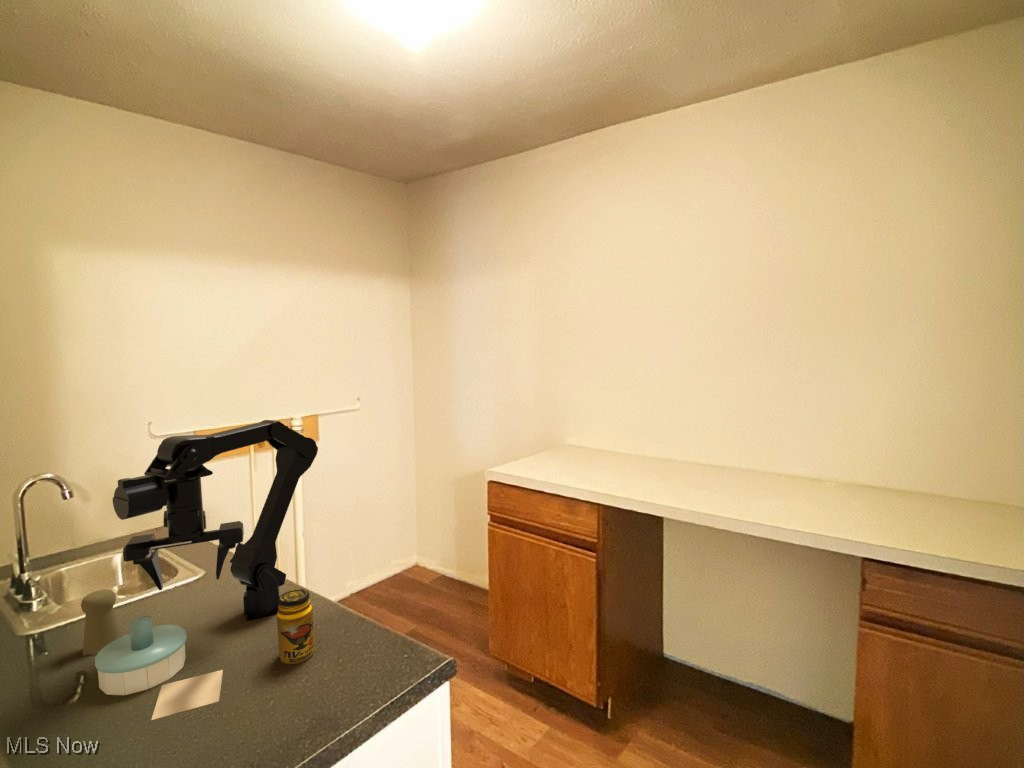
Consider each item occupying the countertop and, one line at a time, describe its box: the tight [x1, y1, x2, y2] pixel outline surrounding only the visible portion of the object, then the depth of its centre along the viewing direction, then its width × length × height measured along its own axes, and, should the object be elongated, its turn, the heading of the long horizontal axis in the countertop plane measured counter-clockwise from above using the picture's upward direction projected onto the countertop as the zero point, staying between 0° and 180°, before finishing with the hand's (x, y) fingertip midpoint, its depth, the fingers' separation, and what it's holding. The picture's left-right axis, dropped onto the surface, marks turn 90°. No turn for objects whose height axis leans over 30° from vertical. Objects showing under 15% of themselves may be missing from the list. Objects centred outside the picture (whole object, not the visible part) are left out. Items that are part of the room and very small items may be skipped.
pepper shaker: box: [80, 588, 122, 657], centre depth 98 cm, size 6×6×11 cm
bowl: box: [97, 642, 186, 696], centre depth 90 cm, size 12×12×4 cm
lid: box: [94, 615, 188, 673], centre depth 90 cm, size 13×13×5 cm
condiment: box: [276, 588, 316, 665], centre depth 94 cm, size 7×8×12 cm
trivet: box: [150, 669, 224, 721], centre depth 84 cm, size 9×9×1 cm
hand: (190, 583), depth 97 cm, fingers open, 9 cm apart
